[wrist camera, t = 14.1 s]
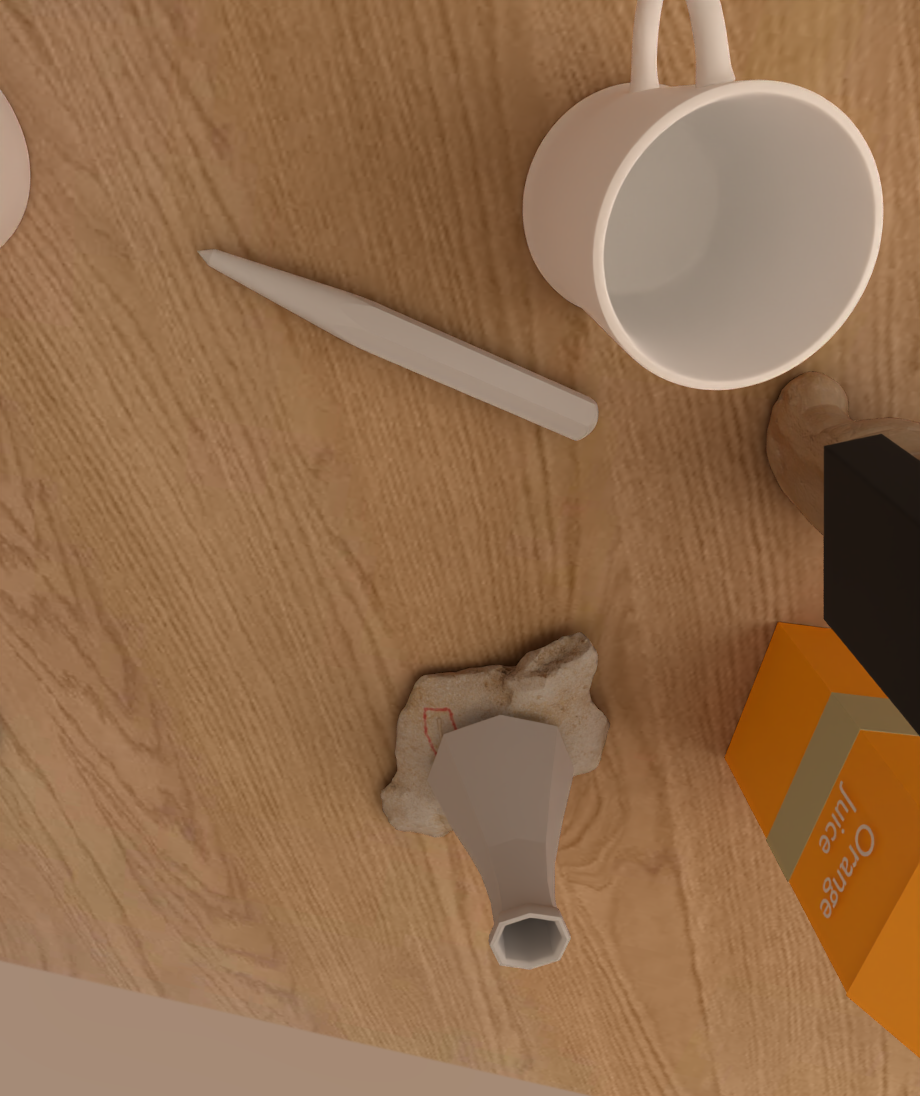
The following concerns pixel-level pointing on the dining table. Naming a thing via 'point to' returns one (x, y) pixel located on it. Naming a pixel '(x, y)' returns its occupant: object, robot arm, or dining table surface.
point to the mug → (706, 214)
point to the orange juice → (840, 813)
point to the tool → (417, 347)
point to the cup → (12, 171)
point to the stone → (482, 693)
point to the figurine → (820, 438)
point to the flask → (510, 826)
